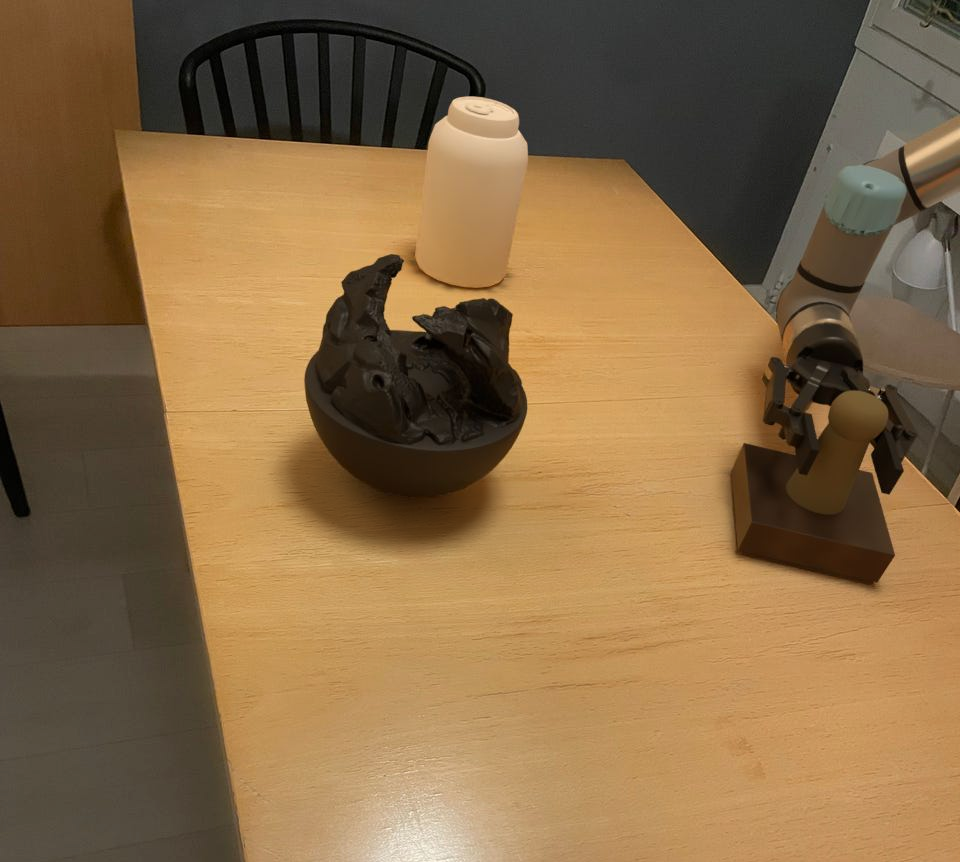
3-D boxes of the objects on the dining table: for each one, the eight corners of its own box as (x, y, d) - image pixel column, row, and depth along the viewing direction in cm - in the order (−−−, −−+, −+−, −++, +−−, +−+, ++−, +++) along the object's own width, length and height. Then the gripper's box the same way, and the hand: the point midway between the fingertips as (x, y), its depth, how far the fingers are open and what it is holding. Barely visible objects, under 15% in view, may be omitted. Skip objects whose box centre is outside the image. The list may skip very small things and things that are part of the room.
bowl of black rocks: (523, 548, 83) (572, 362, 70) (301, 539, 79) (309, 340, 66) (491, 425, 97) (526, 250, 84) (300, 412, 92) (306, 226, 79)
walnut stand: (855, 502, 98) (872, 472, 95) (875, 586, 88) (895, 555, 86) (729, 473, 98) (743, 442, 95) (736, 553, 88) (751, 521, 85)
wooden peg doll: (774, 480, 91) (821, 383, 83) (820, 474, 93) (870, 379, 86) (810, 518, 87) (863, 420, 80) (857, 510, 90) (913, 415, 82)
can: (454, 297, 116) (480, 127, 102) (395, 255, 122) (412, 89, 108) (524, 281, 123) (557, 120, 109) (465, 242, 129) (490, 85, 115)
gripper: (893, 406, 102) (935, 529, 85) (720, 365, 101) (729, 480, 85) (928, 344, 96) (980, 463, 80) (745, 301, 96) (759, 411, 80)
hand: (850, 472), depth 83 cm, fingers open, 7 cm apart
